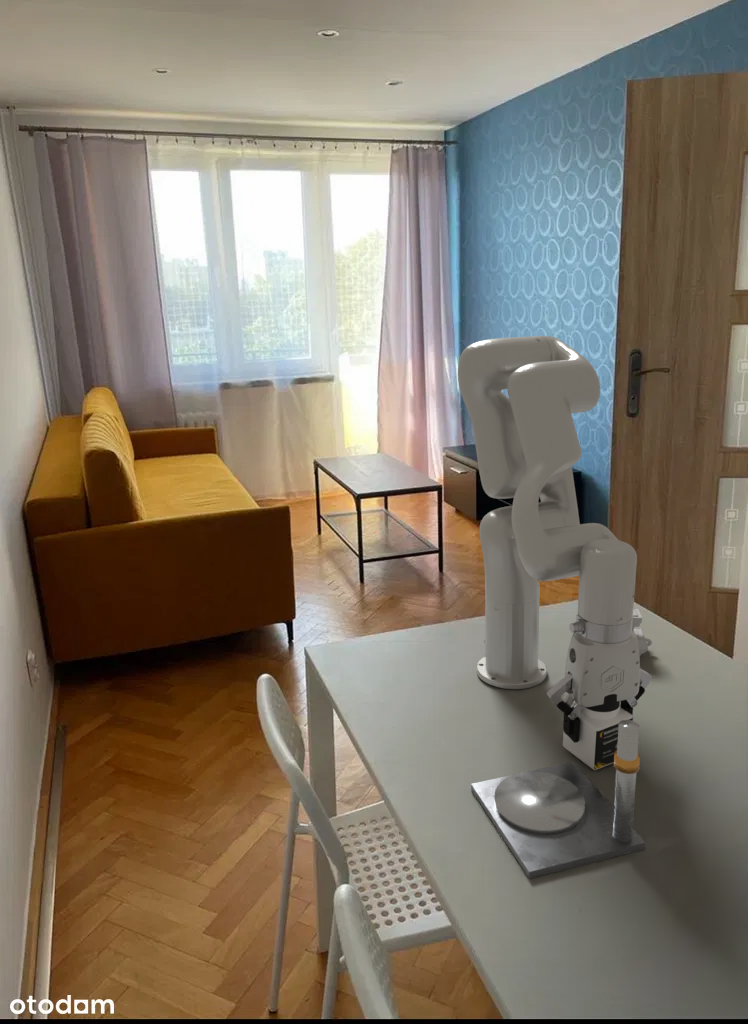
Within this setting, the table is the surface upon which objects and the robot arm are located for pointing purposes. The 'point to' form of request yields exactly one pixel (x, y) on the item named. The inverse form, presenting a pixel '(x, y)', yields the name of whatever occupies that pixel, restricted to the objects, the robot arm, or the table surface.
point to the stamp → (640, 632)
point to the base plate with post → (565, 812)
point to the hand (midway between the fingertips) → (597, 731)
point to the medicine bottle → (598, 733)
